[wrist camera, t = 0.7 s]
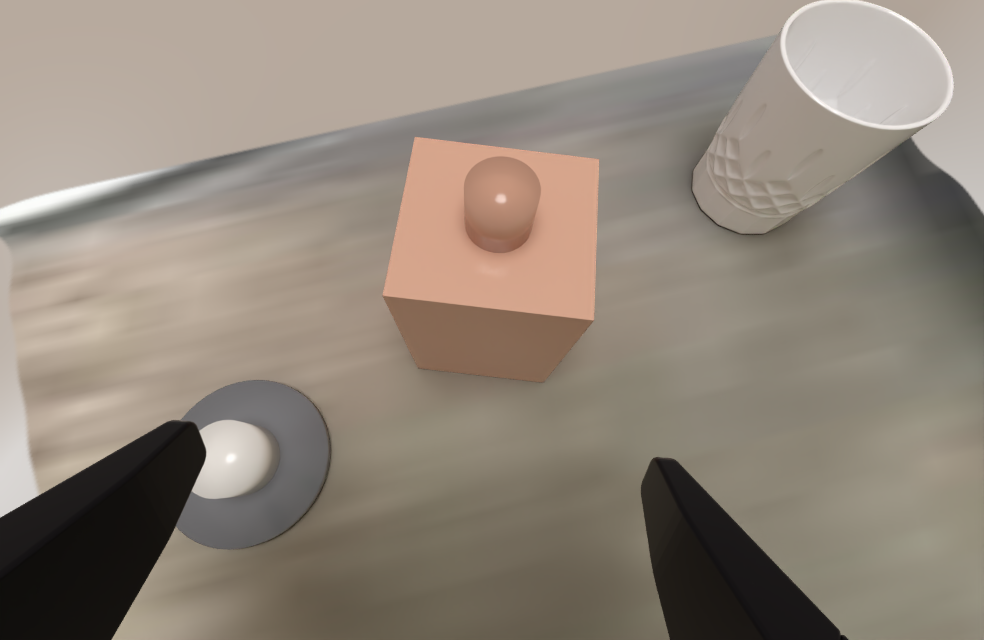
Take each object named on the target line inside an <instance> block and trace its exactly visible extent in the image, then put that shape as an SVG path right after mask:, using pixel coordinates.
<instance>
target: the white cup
mask: <svg viewBox="0 0 984 640" xmlns="http://www.w3.org/2000/svg"><path fill="white" fill-rule="evenodd" d="M953 92H954V80H953V74H952V70H951V67H950V65H949V62H948V60H947V58H946V57H945V55H944V53H943V52H942V50H941V49H940V47H939V46H938V45H937V44H936V43H935V41H934V40H933V39H932V38H931V37H930V36H929V35H927V33H926V32H924V31H923V30H922V29H921V28H920V27H918V26H917V25H915V24H914V23H913V22H911V21H910V20H908V19H906V18H905V17H903V16H901V15H900V14H898V13H896V12H894V11H891V10H889V9H887V8H884V7H881V6H879V5H876V4H872V3H869V2H865V1H859V0H820V1H816V2H813V3H810V4H808V5H806V6H803V7H802V8H800V9H798V10H797V11H796V12H795V13H793V14H792V15H791V16H790V17H789V19H788V20H787V22H786V23H785V25H784V26H783V28H782V29H781V31H780V32H779V34H778V35H777V37H776V38H775V40H774V42H773V43H772V45H771V46H770V48H769V49H768V51H767V52H766V54H765V55H764V57H763V59H762V60H761V62H760V63H759V65H758V66H757V68H756V69H755V71H754V72H753V74H752V75H751V77H750V79H749V80H748V82H747V83H746V85H745V86H744V88H743V89H742V91H741V92H740V94H739V95H738V97H737V98H736V100H735V102H734V104H733V106H732V107H731V109H730V111H729V112H728V113H727V115H726V117H725V118H724V120H723V121H722V123H721V125H720V127H719V129H718V130H717V131H716V133H715V136H714V139H713V141H712V142H711V144H710V146H709V147H708V149H707V151H706V152H705V154H704V155H703V157H702V158H701V160H700V161H699V163H698V164H697V166H696V167H695V169H694V171H693V183H692V191H693V193H694V195H695V197H696V199H697V202H698V204H699V206H700V208H701V210H703V211H704V212H705V213H706V214H707V215H708V216H709V217H710V218H711V219H712V220H714V221H715V222H716V223H717V224H718V225H720V226H723V227H725V228H728V229H730V230H733V231H735V232H738V233H740V234H764V233H766V232H768V231H770V230H773V229H775V228H777V227H779V226H781V225H783V224H784V223H786V222H787V221H788V220H790V219H791V218H792V217H794V216H795V215H797V214H798V213H799V212H801V211H802V210H805V209H807V208H809V207H810V206H812V205H813V204H815V203H816V202H818V201H819V200H821V199H822V198H824V197H825V196H826V195H828V194H829V193H831V192H833V191H834V190H836V189H837V188H838V187H840V186H841V185H843V184H844V183H846V182H847V181H849V180H851V179H852V178H853V177H855V176H856V175H858V174H859V173H861V172H862V171H863V170H865V169H866V168H868V167H869V166H870V165H872V164H873V163H875V162H876V161H877V160H879V159H880V158H882V157H883V156H884V155H886V154H887V153H889V152H890V151H891V150H893V149H894V148H896V147H897V146H899V145H900V144H901V143H903V142H904V141H906V140H907V139H908V138H910V137H911V136H913V135H914V134H916V133H917V132H918V131H920V130H921V129H923V128H924V127H925V126H927V125H928V124H930V123H931V122H933V121H934V120H936V119H937V118H938V117H939V116H940V115H942V114H943V113H944V111H945V110H946V109H947V107H948V106H949V104H950V102H951V100H952V96H953Z"/></svg>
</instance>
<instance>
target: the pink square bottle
mask: <svg viewBox="0 0 984 640" xmlns="http://www.w3.org/2000/svg"><path fill="white" fill-rule="evenodd" d="M598 178H599V159H593V158H584V157H576V156H568V155H559V154H551V153H543V152H535V151H526V150H518V149H510V148H502V147H493V146H485V145H477V144H469V143H460V142H452V141H444V140H436V139H427V138H419V137H415V140H414V144H413V149H412V154H411V159H410V164H409V169H408V174H407V179H406V184H405V188H404V193H403V198H402V203H401V208H400V213H399V218H398V223H397V228H396V233H395V237H394V242H393V247H392V252H391V257H390V262H389V267H388V272H387V277H386V281H385V286H384V291H383V298H384V300H385V302H386V304H387V306H388V308H389V310H390V312H391V314H392V316H393V318H394V320H395V322H396V324H397V326H398V328H399V330H400V332H401V334H402V336H403V338H404V340H405V342H406V345H407V347H408V349H409V351H410V353H411V355H412V357H413V359H414V361H415V363H416V365H417V367H418V368H421V369H430V370H438V371H447V372H456V373H464V374H473V375H482V376H490V377H499V378H508V379H516V380H525V381H534V382H542V383H543V382H544V381H545V380H546V379H547V377H548V376H549V375H550V374H551V373H552V371H553V370H554V369H555V368H556V366H557V365H558V364H559V363H560V361H561V360H562V359H563V358H564V357H565V355H566V354H567V353H568V352H569V350H570V349H571V348H572V347H573V346H574V344H575V343H576V342H577V341H578V339H579V338H580V337H581V336H582V335H583V333H584V332H585V331H586V330H587V328H588V327H589V326H590V325H591V323H592V322H593V321H594V303H595V272H596V241H597V209H598Z"/></svg>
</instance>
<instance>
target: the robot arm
mask: <svg viewBox="0 0 984 640" xmlns="http://www.w3.org/2000/svg"><path fill="white" fill-rule="evenodd" d="M205 459H206V447H205V445H204V442H203V440H202V437H201V434H200V432H199V429H198V427H197V425H196V424H195V423H194V422H192V421H181V420H171V421H168V422H166V423H164V424H162V425H161V426H159V427H157V428H156V429H154V430H152V431H150V432H149V433H147V434H145V435H143V436H142V437H140V438H138V439H136V440H135V441H133V442H131V443H129V444H128V445H126V446H124V447H122V448H121V449H119V450H117V451H115V452H114V453H112V454H110V455H109V456H107V457H105V458H103V459H102V460H100V461H98V462H96V463H95V464H93V465H91V466H89V467H88V468H86V469H84V470H82V471H81V472H79V473H77V474H75V475H74V476H72V477H70V478H68V479H67V480H65V481H63V482H62V483H60V484H58V485H56V486H55V487H53V488H51V489H49V490H48V491H46V492H44V493H42V494H41V495H39V496H37V497H35V498H34V499H32V500H30V501H28V502H27V503H25V504H23V505H21V506H20V507H18V508H16V509H15V510H13V511H11V512H9V513H8V514H6V515H4V516H2V517H1V518H0V640H112V638H113V636H114V634H115V633H116V631H117V629H118V627H119V626H120V624H121V622H122V621H123V619H124V617H125V615H126V614H127V612H128V610H129V608H130V607H131V605H132V603H133V602H134V600H135V598H136V596H137V595H138V593H139V591H140V589H141V588H142V586H143V584H144V582H145V581H146V579H147V577H148V576H149V574H150V572H151V570H152V569H153V567H154V565H155V563H156V562H157V560H158V558H159V557H160V555H161V553H162V551H163V550H164V548H165V546H166V544H167V542H168V540H169V539H170V537H171V535H172V533H173V531H174V529H175V527H176V524H177V522H178V520H179V518H180V516H181V513H182V511H183V509H184V507H185V505H186V502H187V500H188V498H189V496H190V494H191V491H192V489H193V487H194V485H195V483H196V480H197V478H198V476H199V474H200V472H201V469H202V467H203V465H204V463H205ZM641 497H642V504H643V511H644V517H645V524H646V531H647V537H648V544H649V551H650V558H651V564H652V569H653V574H654V579H655V583H656V587H657V591H658V595H659V599H660V603H661V606H662V610H663V614H664V618H665V622H666V626H667V630H668V633H669V637H670V640H848V639H847V637H846V636H844V635H840V631H839V629H838V628H837V627H836V626H835V625H834V624H833V623H832V622H831V621H830V620H829V619H828V618H827V617H826V616H825V615H824V614H823V613H822V612H821V611H820V610H819V609H818V607H817V606H816V605H815V604H814V603H813V602H812V601H811V600H810V599H809V598H808V597H807V596H806V595H805V594H804V593H803V592H802V591H801V590H800V589H799V588H798V587H797V586H796V585H795V584H794V582H793V581H792V580H791V579H790V578H789V577H788V576H787V575H786V574H785V573H784V572H783V571H782V570H781V569H780V568H779V567H778V566H777V565H776V564H775V563H774V562H773V561H772V560H771V559H770V557H769V556H768V555H767V554H766V553H765V552H764V551H763V550H762V549H761V548H760V547H759V546H758V545H757V544H756V543H755V542H754V541H753V540H752V539H751V538H750V537H749V536H748V535H747V533H746V532H745V531H744V530H743V529H742V528H741V527H740V526H739V525H738V524H737V523H736V522H735V521H734V520H733V519H732V518H731V517H730V516H729V515H728V514H727V513H726V512H725V511H724V510H723V508H722V507H721V506H720V505H719V504H718V503H717V502H716V501H715V500H714V499H713V498H712V497H711V496H710V495H709V494H708V493H707V492H706V491H705V490H704V489H703V488H702V487H701V486H700V485H699V483H698V482H697V481H696V480H695V479H694V478H693V477H692V476H691V475H690V474H689V473H688V472H687V471H686V470H685V469H684V468H683V467H682V466H681V465H680V464H679V463H678V462H677V461H676V460H674V459H671V458H660V457H655V458H653V459H652V460H651V462H650V464H649V467H648V469H647V472H646V474H645V476H644V479H643V481H642V485H641Z"/></svg>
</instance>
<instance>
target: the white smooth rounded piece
mask: <svg viewBox="0 0 984 640" xmlns="http://www.w3.org/2000/svg"><path fill="white" fill-rule="evenodd" d="M199 432H200V434H201V437H202V440H203V442H204V445H205V447H206V459H205V463H204V465H203V467H202V469H201V472H200V474H199V476H198V478H197V480H196V483H195V485H194V487H193V489H192V492H194V493H195V494H197V495H198V496H201V497H203V498H208V499H220V498H230V497H240V496H246V495H250V494H253V493H255V492H257V491H259V490H260V489H262V488H263V487H264V486H265V485H266V484H267V483H268V482H269V481H270V480H271V479H272V477H273V476H274V474H275V472H276V470H277V468H278V465H279V461H280V448H279V444H278V442H277V440H276V438H275V436H274V435H273V434H272V433H271V432H270V431H269V430H267V429H266V428H264V427H261V426H258V425H253V424H249V423H244V422H240V421H235V420H222V421H217V422H214V423H212V424H209V425H207V426H206V427H204V428H203V429H201V430H200V431H199Z"/></svg>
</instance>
